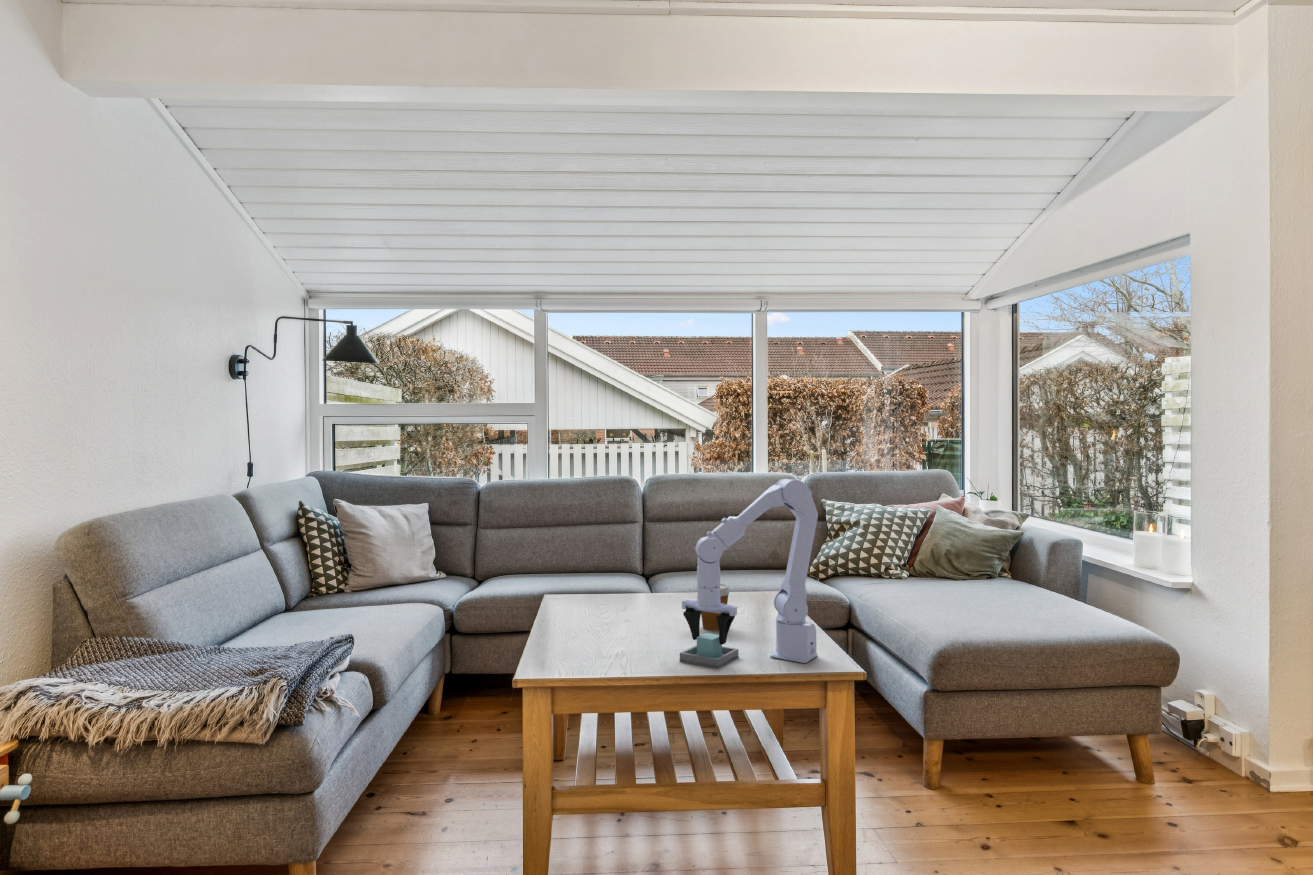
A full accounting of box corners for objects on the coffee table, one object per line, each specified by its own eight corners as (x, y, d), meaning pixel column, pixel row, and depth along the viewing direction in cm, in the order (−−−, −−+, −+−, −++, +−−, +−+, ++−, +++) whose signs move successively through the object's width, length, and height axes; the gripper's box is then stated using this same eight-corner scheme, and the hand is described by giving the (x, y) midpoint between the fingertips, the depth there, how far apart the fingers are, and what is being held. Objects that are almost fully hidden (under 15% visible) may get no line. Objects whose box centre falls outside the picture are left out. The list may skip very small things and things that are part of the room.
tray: (738, 657, 178) (738, 648, 178) (717, 668, 170) (717, 659, 170) (701, 650, 184) (701, 642, 184) (679, 661, 176) (679, 652, 176)
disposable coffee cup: (728, 632, 202) (728, 589, 202) (694, 631, 203) (694, 588, 204) (731, 624, 211) (731, 583, 211) (699, 622, 213) (699, 582, 213)
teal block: (721, 655, 178) (721, 635, 178) (712, 660, 174) (712, 639, 174) (706, 652, 180) (706, 632, 180) (696, 657, 176) (696, 636, 177)
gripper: (675, 585, 178) (675, 640, 178) (726, 592, 170) (727, 649, 170) (690, 581, 184) (690, 634, 184) (740, 586, 176) (741, 642, 175)
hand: (709, 641), depth 177 cm, fingers open, 7 cm apart
